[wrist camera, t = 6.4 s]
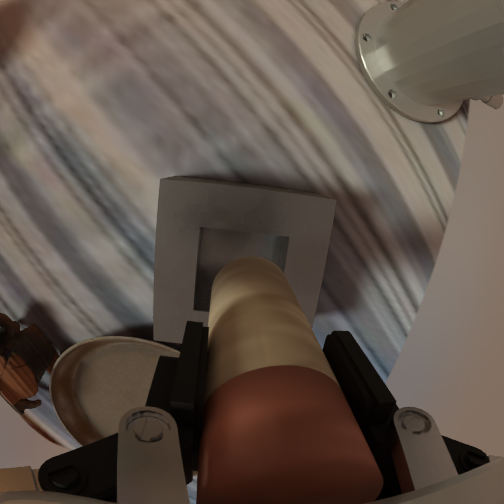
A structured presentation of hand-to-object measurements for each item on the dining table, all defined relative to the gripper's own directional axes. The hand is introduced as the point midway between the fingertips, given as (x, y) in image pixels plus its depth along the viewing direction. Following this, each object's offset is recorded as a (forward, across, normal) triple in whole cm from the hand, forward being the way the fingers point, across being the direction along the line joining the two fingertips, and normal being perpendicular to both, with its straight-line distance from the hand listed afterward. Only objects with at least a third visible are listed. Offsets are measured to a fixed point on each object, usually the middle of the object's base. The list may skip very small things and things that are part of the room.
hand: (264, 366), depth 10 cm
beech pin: (+6, 0, 0) cm, 6 cm away
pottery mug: (+16, +22, +14) cm, 31 cm away
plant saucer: (+16, +8, +18) cm, 26 cm away
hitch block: (+16, 0, 0) cm, 16 cm away
